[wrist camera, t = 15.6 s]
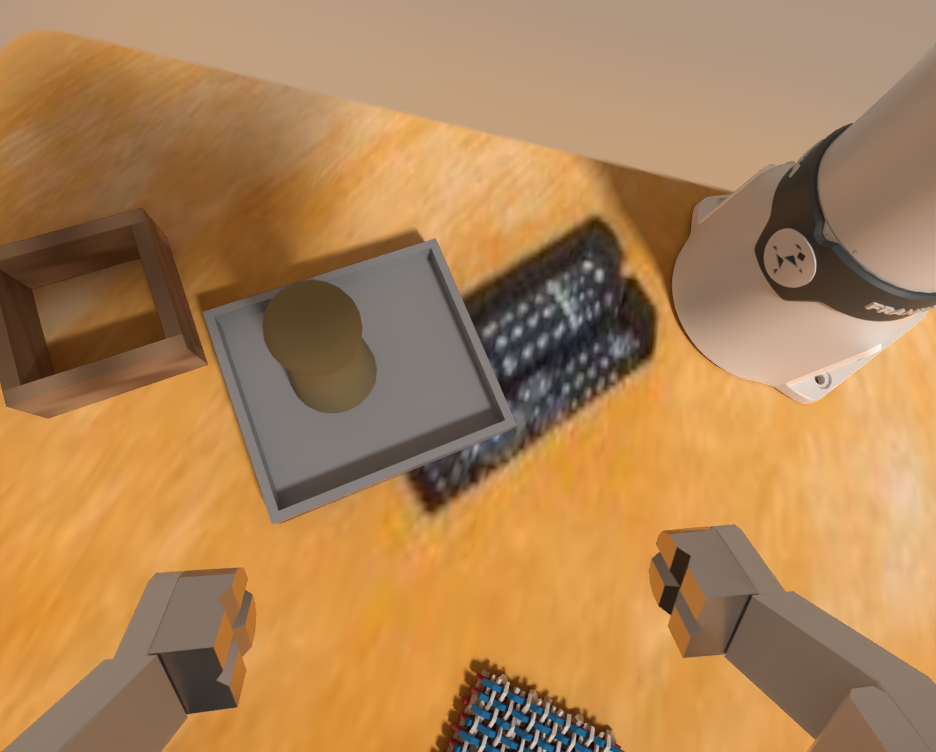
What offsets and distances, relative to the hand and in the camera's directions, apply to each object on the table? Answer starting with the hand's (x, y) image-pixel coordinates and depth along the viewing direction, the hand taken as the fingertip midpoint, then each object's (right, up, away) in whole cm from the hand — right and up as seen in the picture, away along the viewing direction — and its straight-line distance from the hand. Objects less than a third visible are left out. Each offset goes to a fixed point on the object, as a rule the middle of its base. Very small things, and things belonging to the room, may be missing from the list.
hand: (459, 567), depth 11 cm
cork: (-9, +4, +28) cm, 30 cm away
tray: (-7, +4, +29) cm, 30 cm away
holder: (-25, +8, +28) cm, 38 cm away
